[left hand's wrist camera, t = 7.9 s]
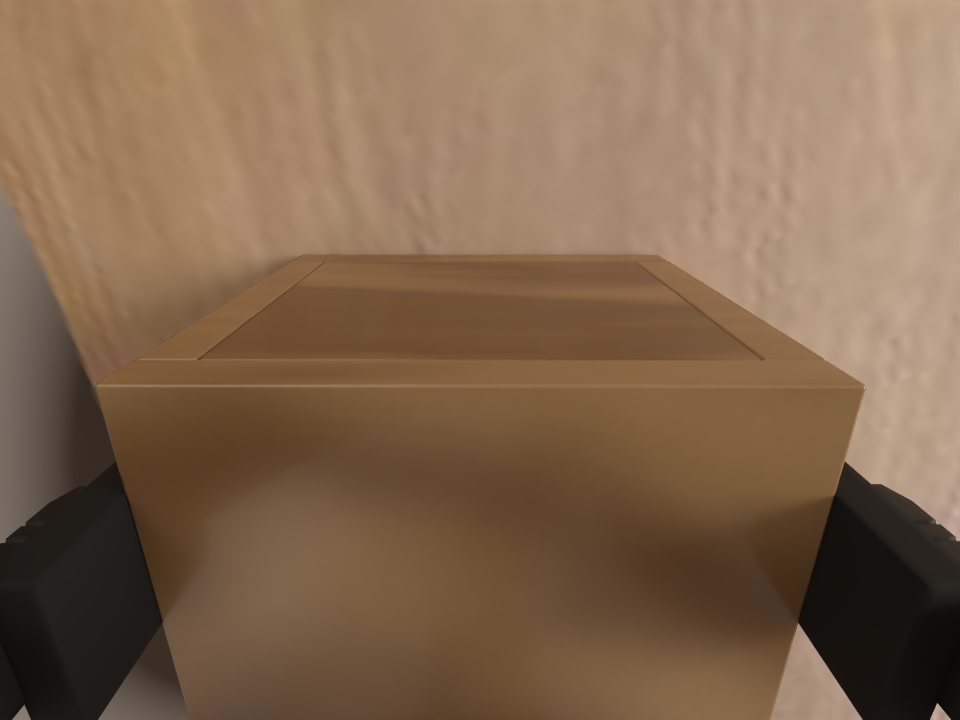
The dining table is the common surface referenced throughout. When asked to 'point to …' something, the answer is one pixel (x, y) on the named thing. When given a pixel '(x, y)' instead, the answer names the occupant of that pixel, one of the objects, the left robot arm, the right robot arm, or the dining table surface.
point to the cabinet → (480, 491)
